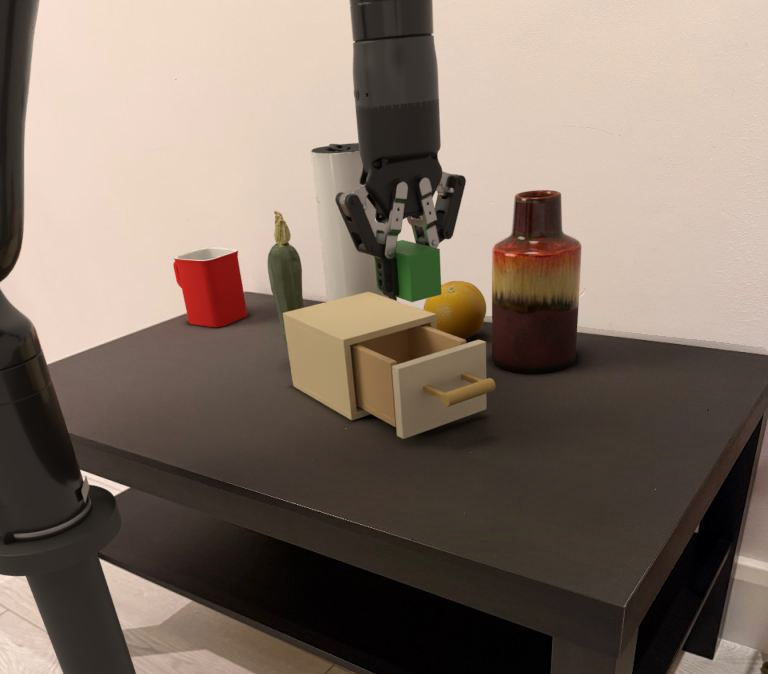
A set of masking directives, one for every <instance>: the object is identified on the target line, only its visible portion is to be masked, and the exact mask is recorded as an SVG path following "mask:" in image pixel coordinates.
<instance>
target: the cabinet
mask: <svg viewBox="0 0 768 674" xmlns="http://www.w3.org/2000/svg"><path fill="white" fill-rule="evenodd" d="M283 318H284V325H285V332H286V339H287V345H286V347H287V346H288V348H287V353H288V359H289V366H290V373H291V380H292V387H293V388H296V389H297V390H299V391H301V392H302V393H304V394H306V395H307V396H309V397H310V398H312V399H314V400H316V401H317V402H319V403H320V404H322V405H324V406H326V407H328V408H329V409H331V410H332V411H335V412H337V413H338V414H340V415H342V416H343V417H345V418H346V419H349V420H350V421H355V420H357V419H360V418H363V417H367V416H370V415H372V414H371V413H369V412H367V411H365V410H363V409H362V408H360V407H358V406H356V399H355V389H354V379H353V369H352V360H351V350H350V345H352V344H356V343H359V342H363V341H367V340H370V339H374V338H377V337H381V336H384V335H388V334H391V333H395V332H398V331H402V330H405V329H409V328H413V327H416V326H420V325H426V326H428V327H431V328H434V329H437V325H436V314H434V313H431V312H428V311H425V310H424V309H422V308H419V307H416V306H413V305H410V304H407V303H405V302H401V301H398V300H397V301H395V300H392V299H389V298H386V297H383V296H381V295H378V294H375V293H372V292H365V293H361V294H357V295H353V296H349V297H345V298H341V299H337V300H333V301H329V302H327V301H325V302H321V303H318V304H313V305H309V306H304V308H301V309H297V310H293V311H289V312H285V313H283Z"/></svg>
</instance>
